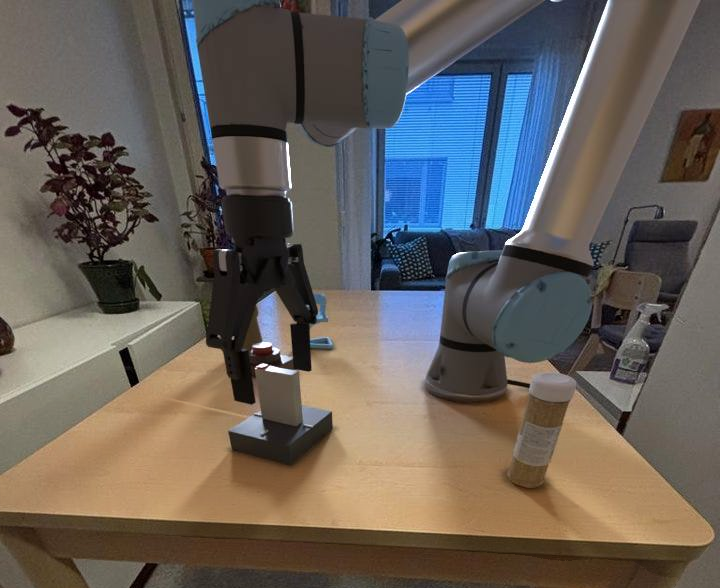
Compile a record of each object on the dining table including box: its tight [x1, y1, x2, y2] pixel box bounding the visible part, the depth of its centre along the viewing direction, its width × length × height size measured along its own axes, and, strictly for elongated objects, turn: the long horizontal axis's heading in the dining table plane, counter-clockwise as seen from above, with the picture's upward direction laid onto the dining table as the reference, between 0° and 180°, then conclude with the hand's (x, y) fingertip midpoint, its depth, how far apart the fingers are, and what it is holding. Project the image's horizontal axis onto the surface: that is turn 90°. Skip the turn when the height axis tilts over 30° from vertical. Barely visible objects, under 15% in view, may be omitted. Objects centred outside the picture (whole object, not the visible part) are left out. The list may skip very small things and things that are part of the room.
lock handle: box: [255, 364, 303, 426], centre depth 55 cm, size 6×2×8 cm, turn 65°
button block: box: [248, 346, 295, 378], centre depth 83 cm, size 10×9×4 cm
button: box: [252, 341, 273, 355], centre depth 82 cm, size 4×4×2 cm
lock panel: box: [227, 404, 334, 466], centre depth 58 cm, size 10×12×3 cm
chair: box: [306, 293, 334, 350], centre depth 97 cm, size 8×8×12 cm
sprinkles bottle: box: [507, 371, 578, 489], centre depth 47 cm, size 5×5×13 cm
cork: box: [242, 304, 264, 350], centre depth 93 cm, size 6×6×11 cm
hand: (276, 384), depth 54 cm, fingers open, 13 cm apart
